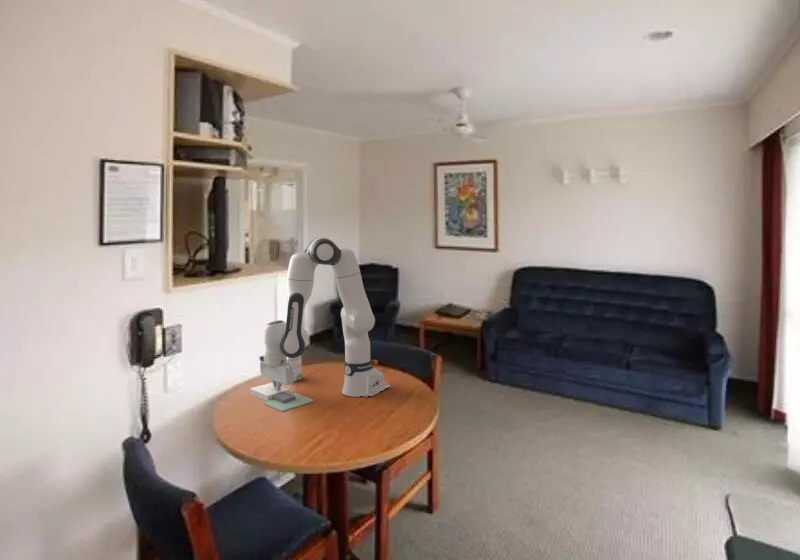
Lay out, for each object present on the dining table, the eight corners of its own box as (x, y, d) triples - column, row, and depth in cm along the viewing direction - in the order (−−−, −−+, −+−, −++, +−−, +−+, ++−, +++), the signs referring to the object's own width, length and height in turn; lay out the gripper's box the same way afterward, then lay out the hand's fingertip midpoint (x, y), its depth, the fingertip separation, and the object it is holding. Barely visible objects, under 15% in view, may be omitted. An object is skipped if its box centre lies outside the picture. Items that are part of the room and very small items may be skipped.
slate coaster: (284, 395, 213) (284, 392, 213) (295, 399, 208) (295, 396, 208) (272, 398, 209) (272, 395, 209) (283, 403, 203) (283, 400, 203)
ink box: (295, 376, 241) (294, 347, 239) (302, 378, 238) (301, 348, 237) (281, 381, 234) (280, 351, 232) (288, 383, 231) (287, 352, 230)
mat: (295, 393, 217) (295, 392, 217) (314, 401, 207) (314, 400, 207) (262, 403, 205) (262, 402, 205) (281, 411, 195) (281, 410, 195)
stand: (271, 387, 225) (271, 382, 224) (289, 395, 215) (289, 389, 215) (250, 393, 217) (249, 388, 216) (267, 401, 207) (267, 395, 207)
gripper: (296, 361, 205) (297, 393, 207) (269, 353, 219) (270, 383, 221) (283, 364, 201) (284, 397, 202) (256, 356, 214) (258, 386, 216)
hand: (277, 390), depth 211 cm, fingers closed
